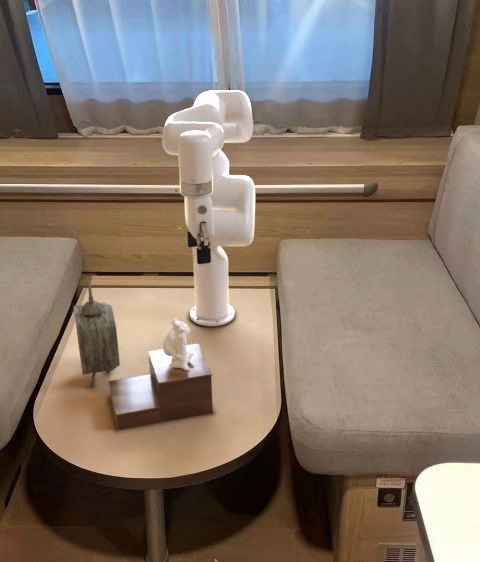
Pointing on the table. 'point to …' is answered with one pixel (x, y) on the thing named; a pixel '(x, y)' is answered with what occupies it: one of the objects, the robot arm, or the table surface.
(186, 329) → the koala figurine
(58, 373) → the table surface
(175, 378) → the step shelf
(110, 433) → the table surface
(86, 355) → the spike-topped wooden block
